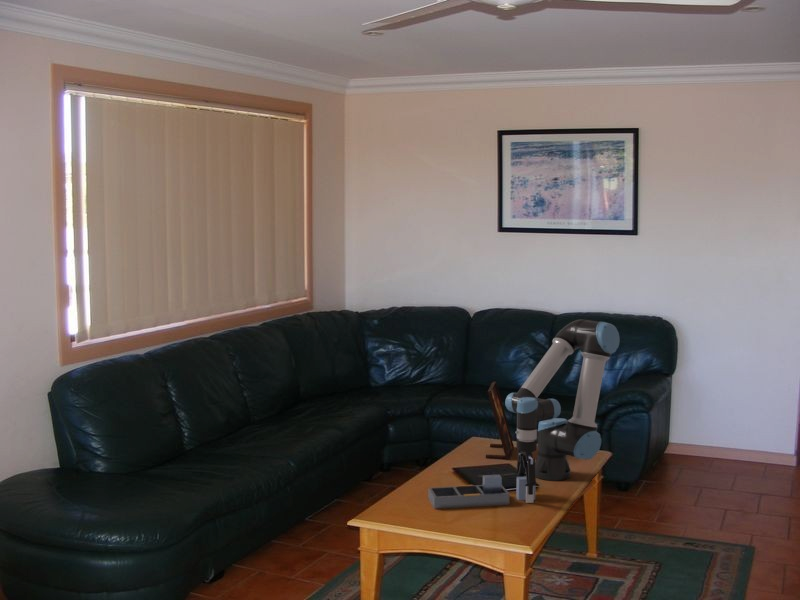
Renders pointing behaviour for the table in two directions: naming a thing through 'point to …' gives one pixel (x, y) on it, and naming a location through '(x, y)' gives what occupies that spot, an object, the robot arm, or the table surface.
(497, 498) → the rack
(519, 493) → the block
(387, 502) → the table surface
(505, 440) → the picture frame
